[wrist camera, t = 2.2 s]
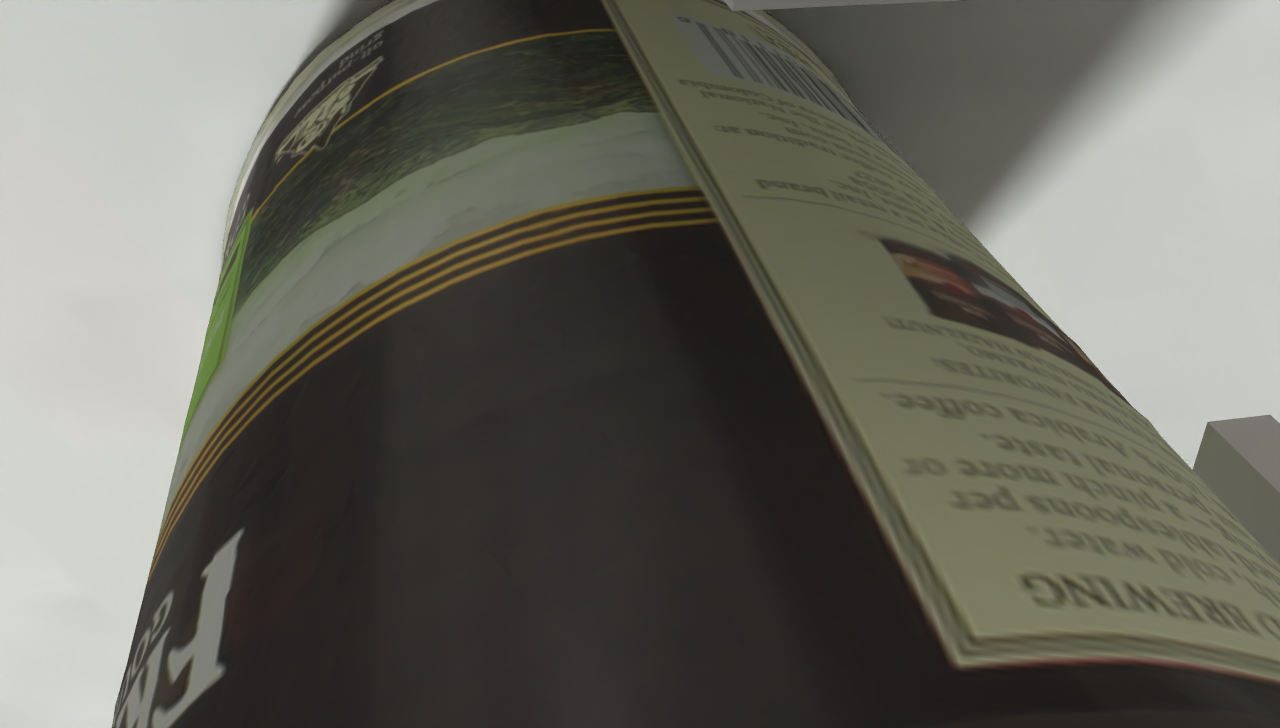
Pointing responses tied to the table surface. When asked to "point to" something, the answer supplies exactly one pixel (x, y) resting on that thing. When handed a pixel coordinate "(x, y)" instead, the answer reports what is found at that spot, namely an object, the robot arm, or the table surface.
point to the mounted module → (808, 3)
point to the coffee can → (656, 419)
